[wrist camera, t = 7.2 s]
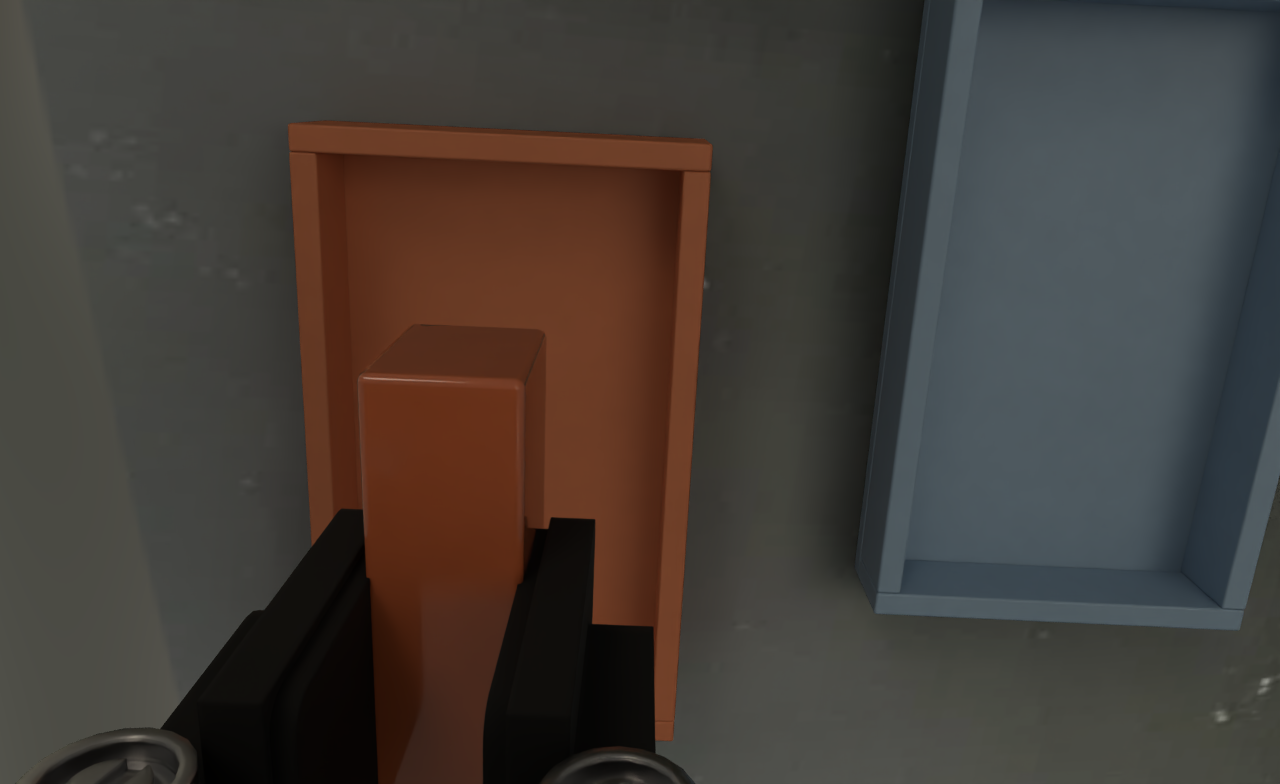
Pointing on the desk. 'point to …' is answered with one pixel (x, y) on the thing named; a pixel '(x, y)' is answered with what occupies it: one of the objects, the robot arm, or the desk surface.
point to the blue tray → (1081, 317)
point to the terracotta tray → (522, 318)
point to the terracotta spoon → (446, 532)
